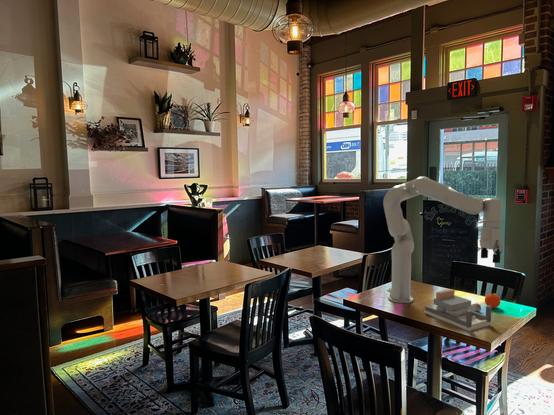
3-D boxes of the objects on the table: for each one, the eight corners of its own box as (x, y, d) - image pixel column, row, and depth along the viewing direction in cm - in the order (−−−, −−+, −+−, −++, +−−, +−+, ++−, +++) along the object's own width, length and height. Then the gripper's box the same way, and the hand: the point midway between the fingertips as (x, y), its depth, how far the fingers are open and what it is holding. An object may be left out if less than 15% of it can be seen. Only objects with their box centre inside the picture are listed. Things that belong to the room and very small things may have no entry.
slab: (433, 303, 191) (433, 292, 191) (452, 299, 197) (453, 288, 197) (451, 310, 183) (451, 298, 182) (470, 306, 189) (471, 294, 188)
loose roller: (461, 313, 196) (461, 305, 196) (473, 310, 200) (473, 302, 200) (468, 315, 192) (468, 307, 192) (481, 312, 196) (481, 304, 196)
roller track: (424, 313, 196) (424, 295, 195) (445, 308, 202) (446, 291, 202) (468, 331, 174) (469, 311, 174) (490, 324, 181) (491, 306, 180)
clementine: (491, 304, 208) (492, 290, 208) (504, 308, 202) (505, 294, 202) (481, 306, 205) (481, 292, 204) (494, 310, 199) (495, 296, 198)
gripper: (473, 222, 201) (472, 256, 203) (494, 227, 184) (493, 264, 186) (488, 221, 202) (487, 256, 203) (511, 227, 184) (509, 264, 186)
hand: (490, 260), depth 195 cm, fingers open, 9 cm apart
